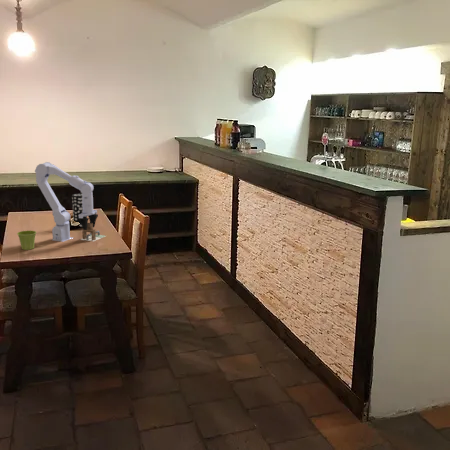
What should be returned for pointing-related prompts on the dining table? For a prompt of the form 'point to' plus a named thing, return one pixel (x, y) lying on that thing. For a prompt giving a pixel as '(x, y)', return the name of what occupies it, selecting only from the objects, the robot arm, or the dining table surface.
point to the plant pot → (27, 239)
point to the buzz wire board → (89, 238)
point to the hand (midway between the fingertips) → (88, 228)
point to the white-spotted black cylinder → (77, 207)
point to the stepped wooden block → (89, 229)
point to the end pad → (99, 236)
